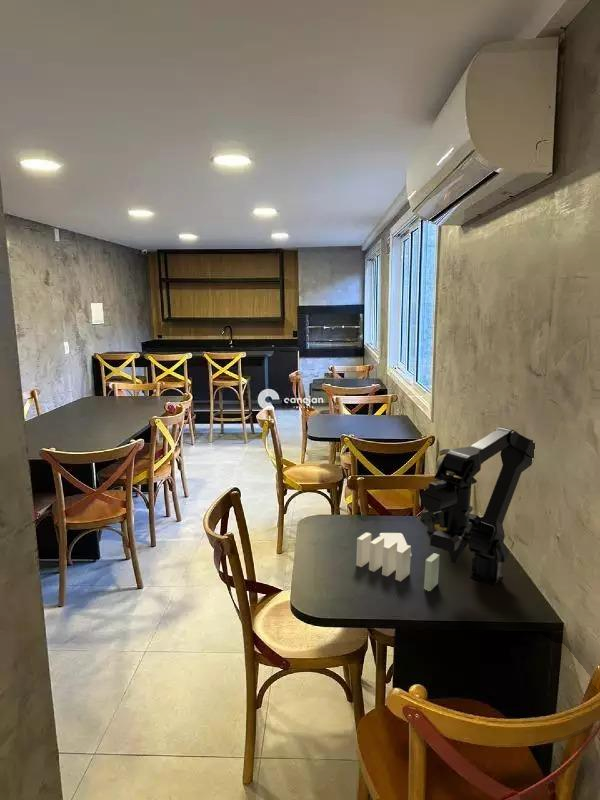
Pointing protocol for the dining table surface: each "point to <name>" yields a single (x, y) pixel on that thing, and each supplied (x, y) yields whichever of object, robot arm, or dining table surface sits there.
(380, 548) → the tile
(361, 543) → the tile
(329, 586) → the dining table surface
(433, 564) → the tile
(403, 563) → the tile
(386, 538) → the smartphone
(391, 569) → the tile
